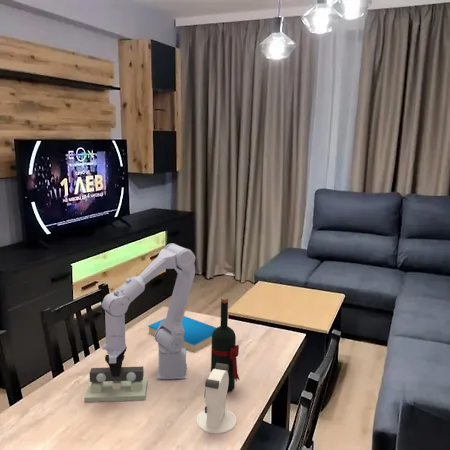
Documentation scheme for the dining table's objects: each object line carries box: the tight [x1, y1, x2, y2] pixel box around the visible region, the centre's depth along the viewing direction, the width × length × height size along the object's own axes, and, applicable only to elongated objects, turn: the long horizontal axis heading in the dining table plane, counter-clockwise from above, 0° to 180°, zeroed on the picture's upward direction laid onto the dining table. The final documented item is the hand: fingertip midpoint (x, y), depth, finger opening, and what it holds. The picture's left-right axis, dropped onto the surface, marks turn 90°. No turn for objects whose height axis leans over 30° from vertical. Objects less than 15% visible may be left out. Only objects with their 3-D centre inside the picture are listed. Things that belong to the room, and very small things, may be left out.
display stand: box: [83, 377, 148, 403], centre depth 139 cm, size 18×10×4 cm, turn 96°
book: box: [148, 315, 217, 353], centre depth 179 cm, size 17×4×25 cm
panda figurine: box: [195, 363, 237, 435], centre depth 126 cm, size 12×11×15 cm
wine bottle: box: [210, 297, 240, 394], centre depth 140 cm, size 8×10×30 cm
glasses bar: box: [89, 366, 145, 383], centre depth 138 cm, size 16×4×3 cm, turn 96°
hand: (116, 373), depth 139 cm, fingers closed on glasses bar, 3 cm apart
